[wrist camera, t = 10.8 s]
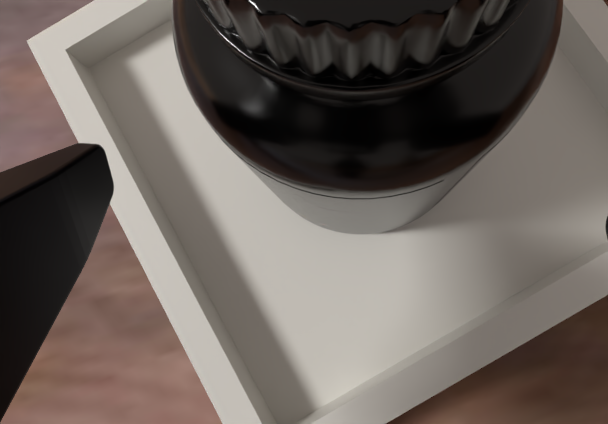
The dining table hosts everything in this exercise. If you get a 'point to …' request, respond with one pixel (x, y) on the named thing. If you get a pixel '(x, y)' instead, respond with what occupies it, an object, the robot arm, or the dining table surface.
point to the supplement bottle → (363, 94)
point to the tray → (335, 245)
